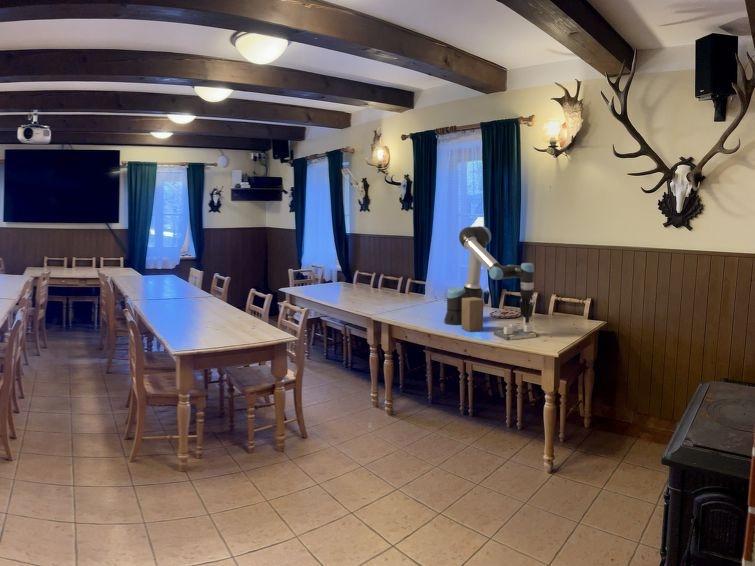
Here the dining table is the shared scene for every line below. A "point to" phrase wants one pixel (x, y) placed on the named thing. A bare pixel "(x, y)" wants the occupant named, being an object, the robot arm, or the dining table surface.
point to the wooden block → (472, 314)
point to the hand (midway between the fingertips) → (525, 327)
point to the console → (516, 334)
